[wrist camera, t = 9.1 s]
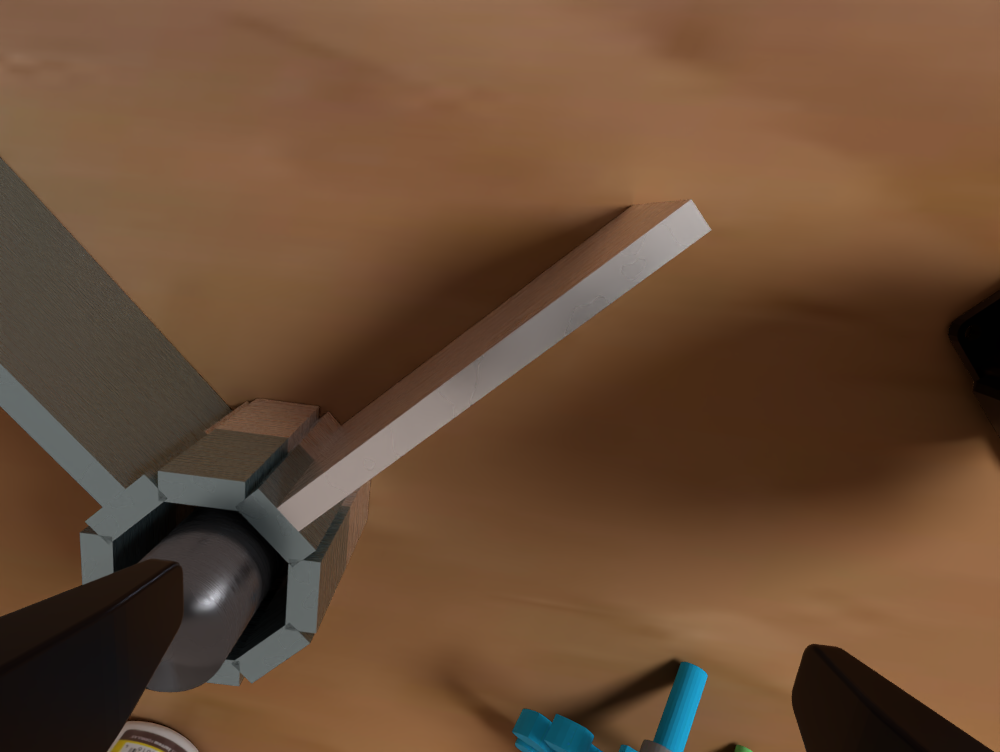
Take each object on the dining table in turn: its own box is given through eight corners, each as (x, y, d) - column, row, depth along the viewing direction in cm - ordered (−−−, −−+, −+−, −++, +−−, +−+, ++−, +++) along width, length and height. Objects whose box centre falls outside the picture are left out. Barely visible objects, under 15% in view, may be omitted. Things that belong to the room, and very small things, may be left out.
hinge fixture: (318, -259, 16) (209, -538, 10) (692, 292, 19) (773, 325, 13) (-116, 180, 19) (-398, 164, 13) (279, 587, 22) (199, 719, 16)
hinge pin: (288, 425, 21) (158, 552, 13) (346, 489, 21) (255, 647, 13) (225, 474, 21) (63, 624, 13) (283, 536, 22) (161, 713, 14)
